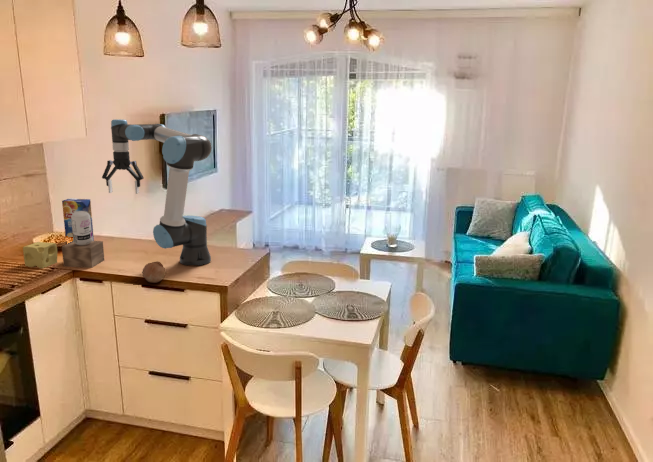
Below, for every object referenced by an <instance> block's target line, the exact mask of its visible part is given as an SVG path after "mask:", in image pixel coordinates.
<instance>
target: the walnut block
mask: <svg viewBox="0 0 653 462" xmlns="http://www.w3.org/2000/svg"><path fill="white" fill-rule="evenodd" d="M61 252H62V262H63V263H62V264H63V267H68V268H69V267H70V268H71V267H72V268H86V269H87V268H89V269H90V268H92V269H93V268H94V267H96V266H98V265H99V264H101V263H103V262H104V261H105V253H104V241H103V240H94V241H92V242H91V243H90V244H88V245H77V244H75V243H74V241H72V242H70V243H68V244H66V243H65V244H64V245H62V246H61Z"/></svg>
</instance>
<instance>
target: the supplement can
mask: <svg viewBox="0 0 653 462" xmlns="http://www.w3.org/2000/svg"><path fill="white" fill-rule="evenodd" d="M71 221H72V231H73V241H74V243H75V244H77V245H88V244H90V243H91V242H92V231H91V219H90V215H89V213H88V212H86V211H76V212H74V213H73V214H72V216H71Z"/></svg>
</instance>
